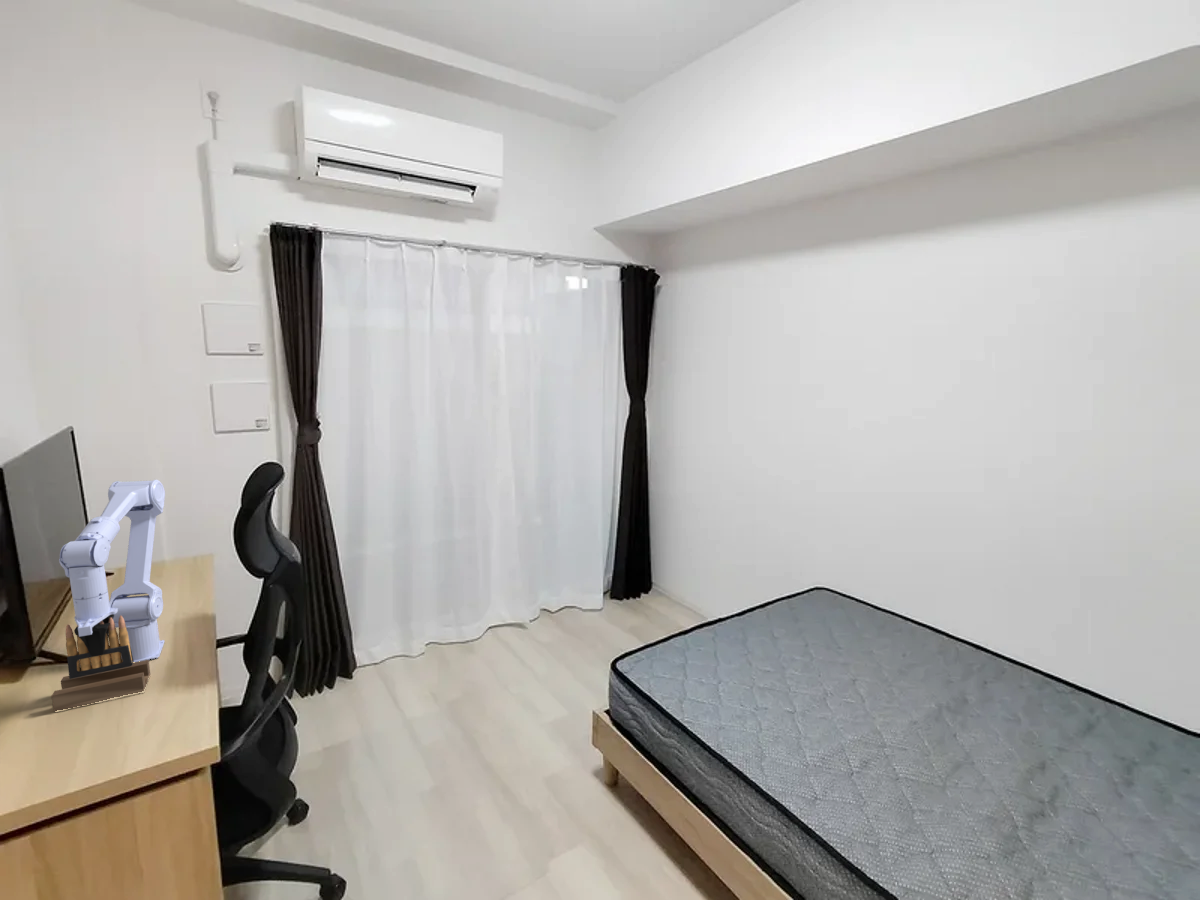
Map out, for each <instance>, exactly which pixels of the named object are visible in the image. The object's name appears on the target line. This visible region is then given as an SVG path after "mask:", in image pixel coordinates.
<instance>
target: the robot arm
mask: <svg viewBox="0 0 1200 900" xmlns="http://www.w3.org/2000/svg"><path fill="white" fill-rule="evenodd" d="M107 495H108V496H107V497H108V502H107V504H106V505H105V508H104V509H103V511H102V512H101V514H100V516H99V515H98V516H96V517H92V519H90V521H89V522H87V524H86V525H85V527H84V528H83V529H82V531H81V532H80V533H79V535H78V536H77V537H76V539H75V540H71V541H69V542H68V543H65V544H63V545H62V547H61V549H60V552H59V559H58V562H59V565H60V567H62V570H64V574H65V577H66V578H68V579H69V583H70V589H71V596H72V601H73V608H74V609H73V610H74V617H73V618H74V622H75V624H76V627H75V629H74V630H73V633H74V635H75V636H76V637H77V636H78V637H79V638H80V639H81V640H82V641H83V642H84V644H85V645H86V647H87V649H88V651H89V653H90V655H91V656H96V655H100V656H101V654H104V651H105V638H106V634H107V636H109V629H108V626H109V624H110V623H108V622H109V618H110V617H111V618H112V619H113V621H114V623H115V627H116V629H117V628H118V629H119V626H118V621H119V617H120V615H121V616H122V617H123V619H124V621H125V625H126V629H127V632H128V637H129V642H130V647H131V651H132V656H133V660H134V662H139V661H145V660H149V661H150V659H151V660H156V659H158V657H159V658H160V656H161V652H162V650H163V648H164V644H165V639H162V640H161V639H160V633H159V625H158V618H160V616H161V615H162V614H163V613H162V612H163V610H164V600H163V590H162V588H161V587H159V586H158V585H156V584H154V583H153V582H151V573H152V572H151V571H152V561H153V560H152V559H153V550H154V543H155V541H154V540H155V534H156V533H155V532H156V531H155V530H156V522H157V516H159V515H161V514H163V512H164V507H165V498H166V491H165V487H164V484H163V483H162V482H161V481H160V480H159V479H153V480H134V481H119V480H117V481H113V482H112V483H111V485H109V487H108V490H107ZM124 517H126V518H129V520H130V529H129V538H128V546H127V547H128V548H127V555H126V556H127V557H126V564H125V572H124V581H123V584H121V585H119V586H118V587H117V588H116V589H114V590H113V591H111V594H110V597H109V591H108V589H109V588H108V581H107V577H106V576H107V575H106V571H105V569H106V568H105V564H106V563H107V562H108V560H109V556H110V551H111V548H112V546H111V544H112V542H113V541H114V539H115V538H116V537H117V535H118V534H119V532H120V531H121V526H120V522H121V521H122V519H123V518H124ZM100 621H103V623H104V624H100V623H99V622H100ZM77 625H78V627H77ZM121 658H122V656H121ZM155 658H156V659H155Z"/></svg>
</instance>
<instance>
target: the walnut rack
mask: <svg viewBox="0 0 1200 900" xmlns="http://www.w3.org/2000/svg"><path fill="white" fill-rule="evenodd" d="M150 675H151V669H150V660H145V661H140V662H135V663H133V665H132V666H130V667H125V668H120V669H115V670H111V671H106V672H101V673H96V674H91V675H87V676H82V677H77V678H72V679H69V675H65V676H62V678H61V680H60V686H61V688H60V689H57V690H54V691H53V693H52V694H51V700H52V706H53V712H54V711H57V710H63V709H68V708H73V707H77V706H82V705H87V704H91V703H95V702H99V701H103V700H107V699H110V698H114V697H120V696H123V695H128V694H133V693H138V692H142V691H144V689H145V687H146V684H147V682H148V683H149V681H148V678H149V676H150ZM150 677H151V676H150ZM149 679H150V678H149ZM147 685H148V684H147ZM146 688H147V687H146ZM145 690H146V689H145Z"/></svg>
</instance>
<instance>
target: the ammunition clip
mask: <svg viewBox="0 0 1200 900" xmlns="http://www.w3.org/2000/svg"><path fill="white" fill-rule="evenodd" d="M99 623H100V624H104V623H103V621H100V622H99ZM108 623H110V624H109V626H108V629H109V636H107V634H106V638H105V651H104V654H101V655H96V656H91V655H90V653H89V651H88V649H87V647H86V645H85V644H84V642H83V641H82V640H81V639H80V638H79V637H78V636H77V635H76V639H75V636H74V635H75V634H74V630H73V629H72V627H71V625H70V624H66V627H65V648H66V655H67V657H66V658H67V668H68V676H69V679H72V678H77V677H82V676H87V675H91V674H96V673H101V672H106V671H111V670H115V669H120V668H125V667H130V666H132V665H133V662H134V660H133V656H132V651H131V647H130V642H129V637H128V632H127V629H126V625H125V621H124V619H123V617H122V616H121V615H120V617H119V621H118V626H119V628H118V632H117V628H116V627H115V623H114V621H113V619H112V618H111V617H110V618H109V622H108ZM76 627H78V625H77V624H76ZM121 656H122V658H121Z"/></svg>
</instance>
